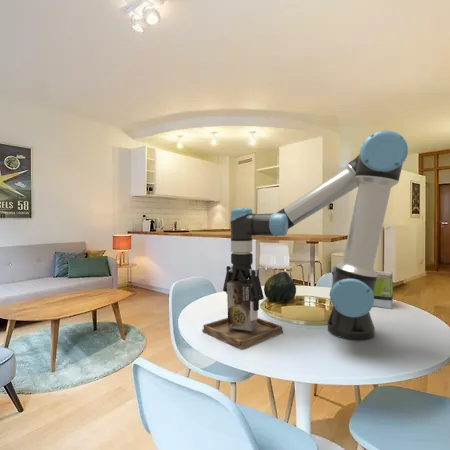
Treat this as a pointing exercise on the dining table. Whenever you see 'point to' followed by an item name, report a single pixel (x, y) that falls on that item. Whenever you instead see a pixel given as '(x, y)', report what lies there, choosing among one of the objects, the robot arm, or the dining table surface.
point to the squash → (280, 287)
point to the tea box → (383, 290)
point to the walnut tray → (242, 333)
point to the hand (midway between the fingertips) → (242, 315)
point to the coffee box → (239, 306)
